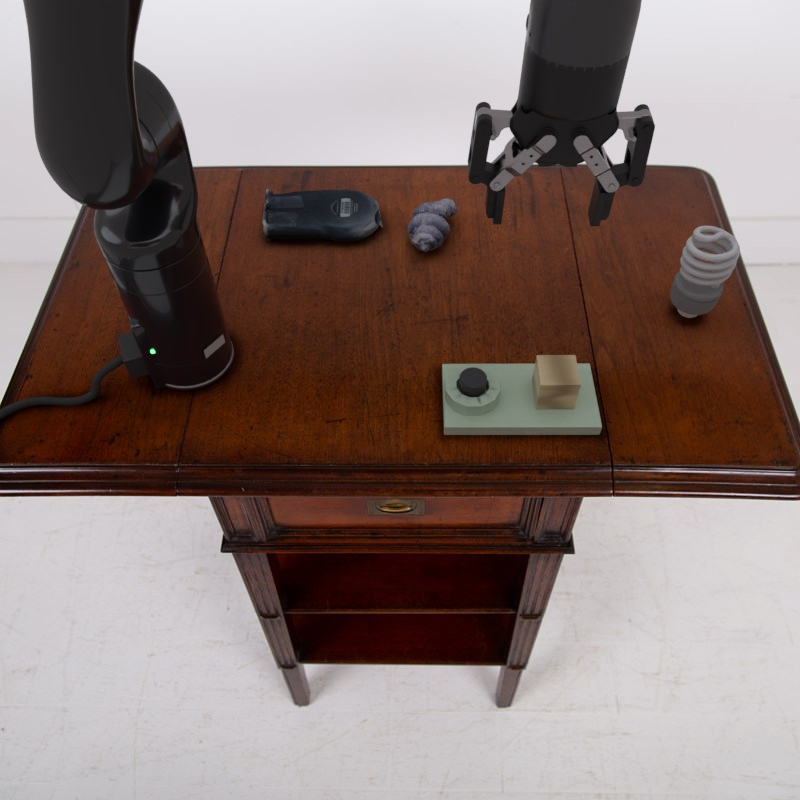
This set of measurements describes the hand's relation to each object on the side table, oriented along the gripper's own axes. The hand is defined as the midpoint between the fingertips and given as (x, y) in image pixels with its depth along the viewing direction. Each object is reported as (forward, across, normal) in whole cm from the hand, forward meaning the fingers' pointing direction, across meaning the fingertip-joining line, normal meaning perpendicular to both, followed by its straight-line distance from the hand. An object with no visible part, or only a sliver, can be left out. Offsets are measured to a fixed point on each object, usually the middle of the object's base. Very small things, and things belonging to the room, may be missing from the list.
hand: (544, 219), depth 67 cm
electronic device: (+22, -23, +25) cm, 41 cm away
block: (+20, +3, -4) cm, 20 cm away
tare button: (+18, -5, -4) cm, 20 cm away
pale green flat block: (+21, 0, -4) cm, 21 cm away
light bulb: (+21, +20, +9) cm, 31 cm away
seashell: (+21, -9, +23) cm, 32 cm away
